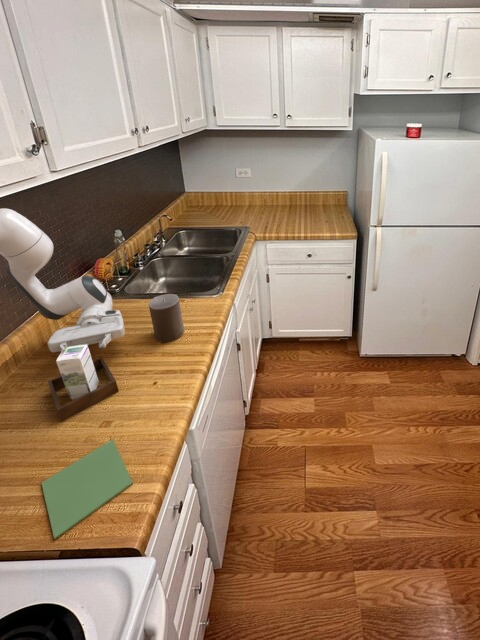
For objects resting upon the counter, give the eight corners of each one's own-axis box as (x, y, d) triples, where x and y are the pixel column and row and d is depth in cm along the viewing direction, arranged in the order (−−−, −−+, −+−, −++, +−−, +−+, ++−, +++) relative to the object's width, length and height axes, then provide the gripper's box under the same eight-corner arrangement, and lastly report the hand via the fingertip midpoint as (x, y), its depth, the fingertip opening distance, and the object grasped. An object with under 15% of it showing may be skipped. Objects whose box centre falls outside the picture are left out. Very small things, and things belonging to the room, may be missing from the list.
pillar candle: (169, 345, 113) (162, 308, 108) (149, 338, 117) (141, 301, 111) (190, 328, 121) (184, 293, 116) (170, 322, 125) (163, 287, 119)
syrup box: (99, 381, 98) (88, 342, 93) (92, 397, 93) (79, 357, 88) (78, 385, 97) (64, 345, 92) (69, 402, 92) (54, 361, 86)
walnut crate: (61, 421, 86) (57, 410, 85) (51, 391, 95) (47, 380, 94) (118, 391, 95) (115, 380, 94) (104, 366, 104) (101, 356, 103)
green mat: (54, 540, 63) (53, 538, 63) (42, 484, 72) (41, 482, 72) (133, 483, 72) (132, 482, 72) (113, 440, 81) (112, 439, 81)
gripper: (52, 322, 106) (37, 351, 94) (125, 309, 113) (119, 333, 101) (58, 338, 108) (44, 368, 96) (128, 324, 115) (123, 350, 104)
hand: (83, 350), depth 99 cm, fingers open, 8 cm apart
